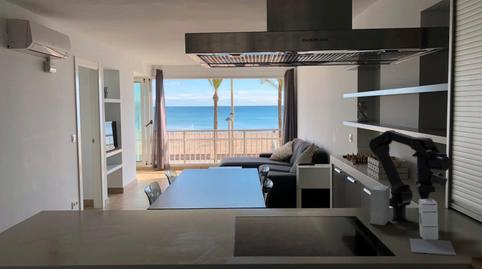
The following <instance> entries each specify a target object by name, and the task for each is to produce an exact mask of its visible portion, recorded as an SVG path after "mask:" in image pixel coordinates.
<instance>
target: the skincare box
mask: <svg viewBox="0 0 482 269" xmlns="http://www.w3.org/2000/svg"><path fill="white" fill-rule="evenodd" d="M369 194H370V196H369V198H370V206H369V208H370V209H369V210H370V212H369V213H370V214H369V215H370V216H369V221H370V222H369V224H373V225H379V226H385V225H386V224H388V222H389V221H390V207H391V206H390V198H391V187H390V186H386V185H374V186H373V187H371V188H370V192H369Z"/></svg>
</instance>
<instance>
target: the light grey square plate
mask: <svg viewBox="0 0 482 269" xmlns="http://www.w3.org/2000/svg"><path fill="white" fill-rule="evenodd" d="M409 243H410V244H409V245H410V252H411V254H412V253H413V254H424V253H427V254H429V255H441V256H442V255H443V256H453V257H454V256H455V257H456V256H457V253H456V251H455V248H454V246H453V244H452V242H451V240H441V239H438V240H428V239H422V238H409Z"/></svg>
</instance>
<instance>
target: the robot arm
mask: <svg viewBox="0 0 482 269" xmlns="http://www.w3.org/2000/svg"><path fill="white" fill-rule="evenodd" d="M393 142H396V143H398V144H402V145H405V146H408V147H410V149H411V150H413V151H414V153H413V154H412V156H411V157H412V158H413V157H414V158H416V176H417V177H416V178H415V186H416V189H417V193H418V195H419V197H420V199H429V196H430V194H431V193H435V192H436V186H435V185H434V184H436V185H441V186H442V187H446V185H447V182H448V178H447V177H445V176H444V174H443V173H441V172H438V173H437V174H436V173H434V171H433V170H438V171H448V170H450V167H451V164H452V163H451V159H450V158H449V156H448V154H447V152H446V153H445V152H443V153H441V152H440V151H439V149H438V148H437V146H436V145H435V142H434V140H433V139H432V138H431V137H424V136H413V135H409V134H405V133H402V132H400V131H396V130H393V129H392V130H385V131H384V132H383V133H381V134H379V135H377V136H376V137H374V138H372V139H370V141H369V144H368V148H369V149H370V150H371V152H372V153H373V155H375V156H376V157H377V158H378V159H379V161H380V163H381V166H382V169H383V171H384V173H385V175H386V177H387V179H388V182H389V184H390V186H391V187H390V207H391V208H392V215H391V221H399V222H408V217H407V206H410V205H411V203H412V200H413V198H414V194H413V192H414V191H412V189H411V186H410V185H409V184H408V183H407V184H405V183H404V182H403V181H402V179H401V177H400V174H399V173H398V171H397V168H396V165H395V164H394V162H393V161H394V160H393V159H392V157H391V155H390V150H391V149H390V145H391V144H392V143H393Z"/></svg>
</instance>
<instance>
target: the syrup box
mask: <svg viewBox="0 0 482 269" xmlns="http://www.w3.org/2000/svg"><path fill="white" fill-rule="evenodd" d="M438 217H439V216H438V202H437V201H436V200H435V199H434V198H428V199H421V198H419V199H418V218H419V221H418V223H419V236H420V237H421V239H428V240H439V222H438V220H439V219H438Z"/></svg>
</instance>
